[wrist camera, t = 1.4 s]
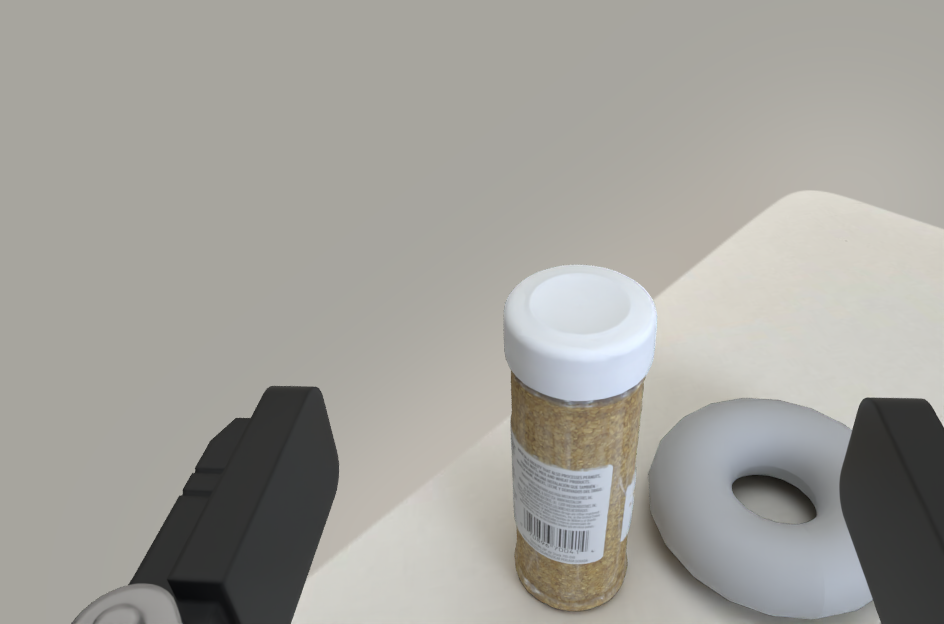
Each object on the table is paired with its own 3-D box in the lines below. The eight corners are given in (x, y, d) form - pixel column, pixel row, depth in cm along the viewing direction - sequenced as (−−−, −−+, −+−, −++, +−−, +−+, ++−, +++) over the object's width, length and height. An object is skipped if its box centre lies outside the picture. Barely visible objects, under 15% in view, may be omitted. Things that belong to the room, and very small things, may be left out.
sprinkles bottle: (648, 558, 31) (689, 294, 22) (580, 640, 28) (598, 377, 20) (558, 498, 33) (565, 241, 25) (489, 568, 31) (470, 309, 22)
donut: (788, 411, 36) (602, 470, 34) (805, 358, 34) (608, 416, 32) (956, 586, 29) (733, 677, 27) (991, 532, 27) (752, 625, 24)
